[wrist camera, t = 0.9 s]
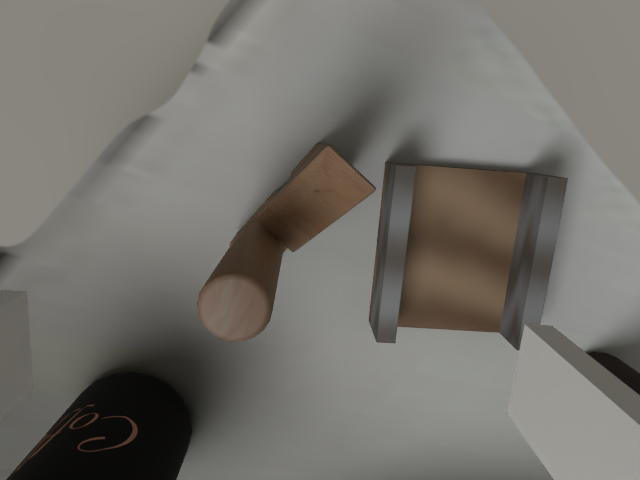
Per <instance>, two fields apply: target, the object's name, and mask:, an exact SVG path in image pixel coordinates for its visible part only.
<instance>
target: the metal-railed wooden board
mask: <svg viewBox="0 0 640 480" xmlns="http://www.w3.org/2000/svg"><path fill="white" fill-rule="evenodd" d="M567 180H568V178H562V177H555V176H549V175H542V174H533V173H520V172H507V171H494V170H481V169H468V168H455V167H442V166H429V165H415V164H402V163H389V162H385V172H384V181H383V191H382V200H381V210H380V219H379V229H378V238H377V248H376V257H375V267H374V276H373V286H372V295H371V305H370V314H369V322H370V325H371V328H372V331H373V334H374V336H375V339H376V342H381V343H395V340H396V332H397V327H414V328H431V329H448V330H465V331H482V332H499V333H500V334H501V335H502V336H503V337H504V338H505V339H506V340H507V341H508V342H509V343H510V344H511V345H512V346H513V347H514V348H515V349H516V350H520V345H521V340H522V335H523V330H524V325H525V324H531V325H540V323H541V317H542V312H543V307H544V301H545V296H546V291H547V286H548V280H549V275H550V270H551V264H552V259H553V254H554V249H555V243H556V238H557V233H558V227H559V222H560V217H561V212H562V206H563V201H564V196H565V190H566V185H567Z"/></svg>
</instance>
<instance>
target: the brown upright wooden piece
mask: <svg viewBox="0 0 640 480" xmlns="http://www.w3.org/2000/svg"><path fill="white" fill-rule="evenodd" d="M375 190H376V188H375V186H374V185H372V184H371V183H370V182H369V181H368V180H367V179H366V178H365V177H364V176H363V175H362V174H361V173H360V172H359V171H357V170H356V169H355V168H354V167H353V166H352V165H351V164H350V163H349V162H348V161H347V160H346V159H345V158H343V157H342V156H341V155H340V154H339V153H338V152H337V151H336V150H335V149H334V148H333V147H332V146H331V145H327V144H324V143H317V144H316V145H315V146H314V147H313V149H312V150H311V151H310V152H309V153H308V154H307V155H306V156H305V158H304V159H303V160H302V161H301V162H300V163H299V164H298V165H297V167H296V168H295V169H294V170H293V172H292V175H291V178H290V180H289V181H288V182H287V183H286V184H285V185H284V186H283V188H282V189H281V190H276V191H275V192H274V193H273V194H272V195H271V196H270V197H269V198H268V199H267V200H266V202H265V203H264V204H263V205H262V206H261V207H260V208H259V209H258V211H257V212H256V213H255V214H254V215H253V216H252V217H251V218H250V220H249V221H248V222H247V223H246V224H245V225H244V226H243V227H242V229H241V230H240V231H239V232H238V233H237V234H236V236H235V237H234V238H233V240H232V241H231V243H230V248H229V249H228V251H227V252H226V254H225V255H224V257H223V258H222V260H221V261H220V262H219V264H218V265H217V267H216V268H215V270H214V271H213V273H212V274H211V276H210V277H209V279H208V280H207V282H206V283H205V285H204V287H203V288H202V290H201V291H200V293H199V298H198V302H197V306H198V314H199V317H200V319H201V321H202V323H203V325H204V326H205V327H206V328H207V329H208V330H209V332H210V333H211V334H213V335H215V336H216V337H218V338H220V339H223V340H227V341H231V342H234V341H245V340H247V339H250V338H253V337H255V336H256V335H258V334H259V333H260V332H261V331H263V330H264V328H265V327H266V325H267V324H268V322H269V321H270V317H271V314H272V310H273V304H274V299H275V293H276V288H277V282H278V277H279V271H280V265H281V260H282V254H283V252H284V251H285V250H286V249H287V248H289V249H290V250H291V251H292V252H294V251H296V250H297V249H299V248H300V247H301V246H303V245H304V244H305V243H307V242H308V241H309V240H311V239H312V238H313V237H315V236H316V235H317V234H319V233H320V232H321V231H323V230H324V229H325V228H327V227H328V226H329V225H331V224H332V223H333V222H335V221H336V220H337V219H339V218H340V217H341V216H343V215H344V214H345V213H347V212H348V211H349V210H351V209H352V208H353V207H355V206H356V205H357V204H359V203H360V202H361V201H363V200H364V199H365V198H367V197H368V196H369V195H371V194H372V193H373V192H374V191H375Z"/></svg>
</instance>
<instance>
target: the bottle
mask: <svg viewBox="0 0 640 480" xmlns="http://www.w3.org/2000/svg"><path fill="white" fill-rule="evenodd" d="M588 355H589V356H591V357H592V358H593V359H594V360H596V361H597V362H598V363H599V364H601V365H602V366H603V367H604V368H606V369H607V370H608V371H610V372H611V373H612V374H613V375H615V376H616V377H617V378H618V379H620V380H621V381H622V382H623V383H625V384H626V385H627V386H628V387H630V388H631V389H632V390H634V391H635V392H636V393H637V394H639V395H640V374H639V373H638V372H637V371H635V370H634V369H632V368H631V367H629V366H628V365H627V364H625V363H624V362H622V361H621V360H620V359H618V358H616V357H614V356H612V355H609V354H607V353H598V352H593V353H589V354H588Z"/></svg>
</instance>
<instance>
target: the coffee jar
mask: <svg viewBox="0 0 640 480" xmlns="http://www.w3.org/2000/svg"><path fill="white" fill-rule="evenodd" d="M191 433H192V429H191V422H190V415H189V412H188V410H187V408H186V406H185V404H184V402H183V400H182V398H181V397H180V396H179V395H178V394H177V393H176V392H175V391H174V390H173V389H172V388H171V387H170V386H169V385H168V384H166V383H164V382H162V381H160V380H159V379H157V378H155V377H153V376H148V375H143V374H138V373H123V374H114V375H111V376H108V377H106V378H103V379H101V380H98V381H96V382H94V383H93V384H92V385H91V386H89V387H88V388H87V389H86V390H85V391H83V392H82V393H81V394H80V395H79V397H78V398H77V399H76V400H75V401H74V402H73V403H72V405H71V406H70V407H69V408H68V409H67V410H66V412H65V413H64V414H63V415H62V416H61V417H60V418H59V420H58V421H57V422H56V423H55V424H54V425H53V426H52V428H51V429H50V430H49V431H48V432H47V433H46V435H45V436H44V437H43V438H42V439H41V440H40V441H39V443H38V444H37V445H36V446H35V447H34V448H33V449H32V451H31V452H30V453H29V454H28V455H27V456H26V458H25V459H24V460H23V461H22V462H21V463H20V464H19V466H18V467H17V468H16V469H15V470H14V471H13V473H12V474H11V475H10V476H9V477H8V478H7V479H6V480H176V479H177V476H178V474H179V471H180V468H181V465H182V463H183V460H184V457H185V455H186V452H187V449H188V446H189V442H190V437H191Z"/></svg>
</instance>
